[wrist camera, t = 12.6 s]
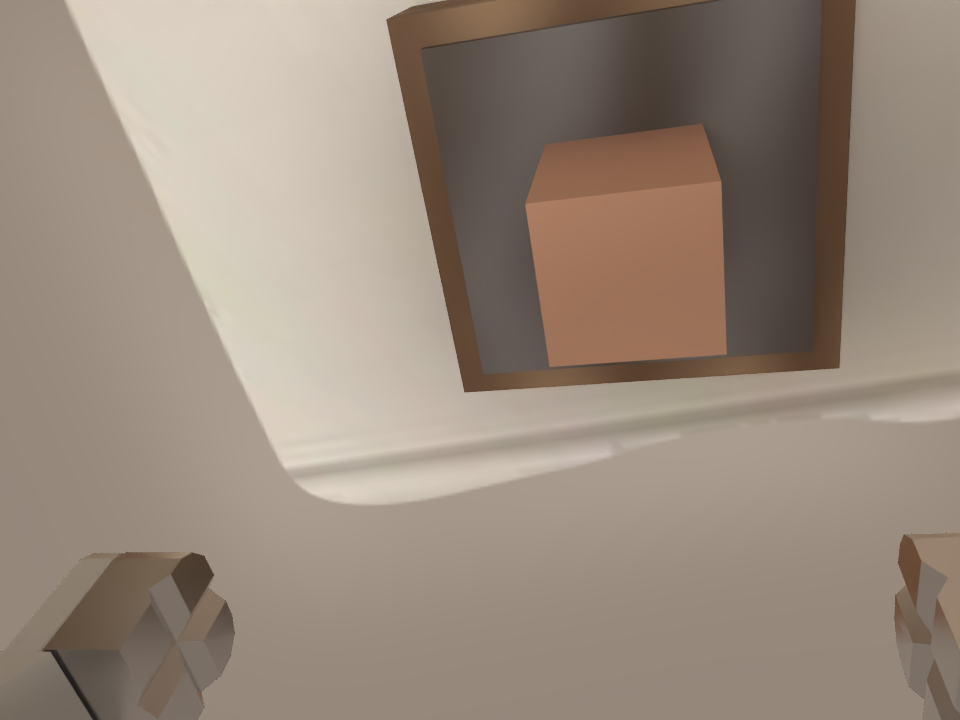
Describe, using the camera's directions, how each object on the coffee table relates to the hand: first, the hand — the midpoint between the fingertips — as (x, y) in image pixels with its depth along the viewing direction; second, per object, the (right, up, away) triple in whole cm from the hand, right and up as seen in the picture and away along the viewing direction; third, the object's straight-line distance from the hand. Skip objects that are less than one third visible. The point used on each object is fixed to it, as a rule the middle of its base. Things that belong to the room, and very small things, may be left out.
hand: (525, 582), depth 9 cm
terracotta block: (+4, +8, +18) cm, 20 cm away
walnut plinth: (+5, +10, +21) cm, 24 cm away
